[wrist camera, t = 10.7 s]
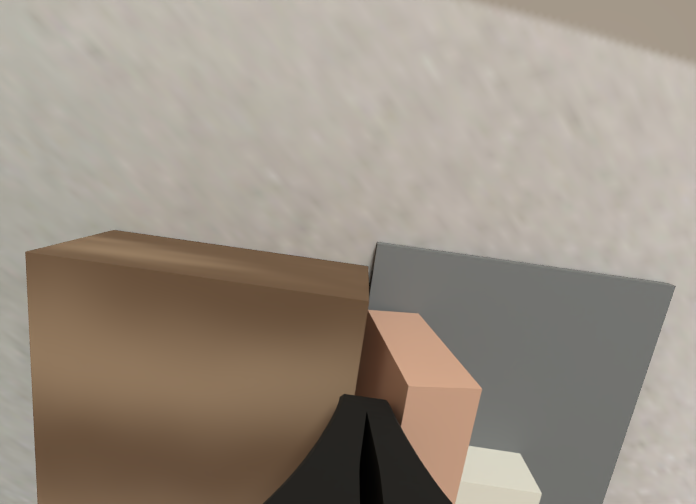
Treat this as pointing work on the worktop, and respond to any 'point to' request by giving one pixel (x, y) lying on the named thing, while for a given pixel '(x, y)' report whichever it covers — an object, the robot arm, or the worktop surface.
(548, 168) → the worktop surface
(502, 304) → the rubber mat
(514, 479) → the cream tile
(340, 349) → the walnut board
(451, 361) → the terracotta tile
